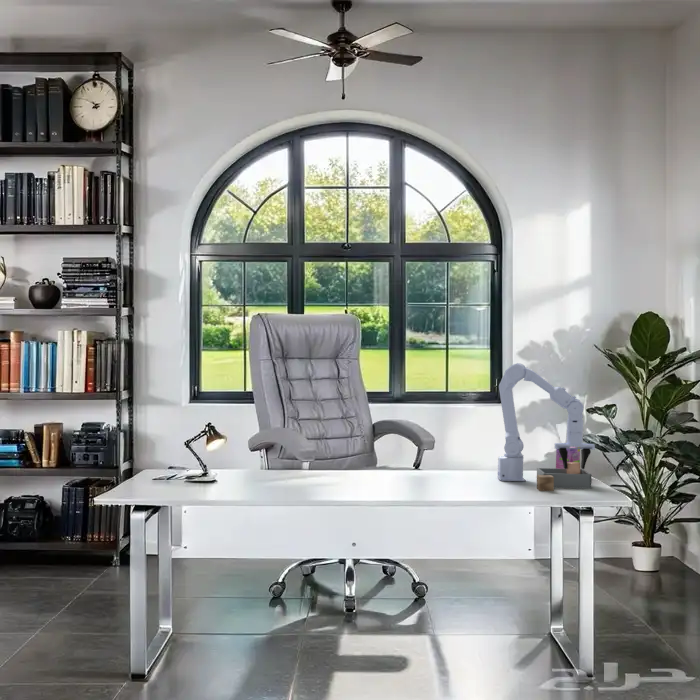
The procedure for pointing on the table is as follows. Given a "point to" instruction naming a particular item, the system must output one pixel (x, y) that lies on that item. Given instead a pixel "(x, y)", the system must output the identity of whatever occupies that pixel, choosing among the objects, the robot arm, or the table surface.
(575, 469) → the terracotta cylinder
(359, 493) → the table surface
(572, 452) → the box
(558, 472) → the tote
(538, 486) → the walnut cube
